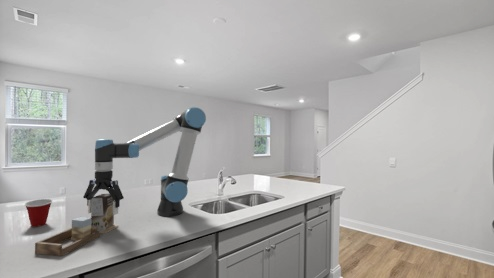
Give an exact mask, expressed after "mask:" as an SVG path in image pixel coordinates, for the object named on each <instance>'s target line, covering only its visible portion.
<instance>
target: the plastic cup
mask: <svg viewBox="0 0 494 278" xmlns="http://www.w3.org/2000/svg"><path fill="white" fill-rule="evenodd" d="M52 204H53V199H50V198H45V199H44V198H41V199H40V198H39V199H36V200H35V199H34V200H31V201H28V202H26V203H24V206H25V208H26V210H27V215H28V216H27V217H28V219H29V225H30V226H31V227H34V228H36V227H41V226H45V225H46V224H47V221H48V218H49V213H50V208H51V205H52Z"/></svg>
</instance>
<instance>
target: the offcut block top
mask: <svg viewBox="0 0 494 278" xmlns="http://www.w3.org/2000/svg"><path fill="white" fill-rule="evenodd" d="M89 225H91V217H84V216H80V217H76V218H73V219H71V228H72V227H79V228H84V227H86V226H89Z"/></svg>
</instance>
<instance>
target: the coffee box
mask: <svg viewBox="0 0 494 278" xmlns="http://www.w3.org/2000/svg"><path fill="white" fill-rule="evenodd" d="M113 201H115V200H114V199H113V198H112V196H111V195H110V193H101V194H98V195H95V196H94V197H92V209H91V213H90V214H91V215H90V216H91V217H90V218H91V227H94V228H97V231H105V230H106V229H108V228H109V227H111V226H112V225H115V224H114V223H115V215H113Z"/></svg>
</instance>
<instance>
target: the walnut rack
mask: <svg viewBox="0 0 494 278" xmlns="http://www.w3.org/2000/svg"><path fill="white" fill-rule="evenodd" d="M99 237H100V233H99V231H97V228H94V227H91V234H90V235H88V236H86V237H84V238H82V239H80V240H78V241H73V242H72V243H71V242H70V244H68V245H66V246H63V244H62V243H63V242H65V241H67V240H71V238H72V227H71V228H67V229H65V230H63V231H60V232H58V233H56V234H54V235H51V236H49V237H46V238H44V239H41V240H39V241H37V242H35V244H34V254H37V255H38V254H39V255H49V256H59V257H63V256H64V255H66V254H68V253H71V252H72V251H74V250H76V249H78V248H79V247H82V246H85V244H88V243H90V242H92V241H93V240H95V239H97V238H99Z"/></svg>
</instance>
